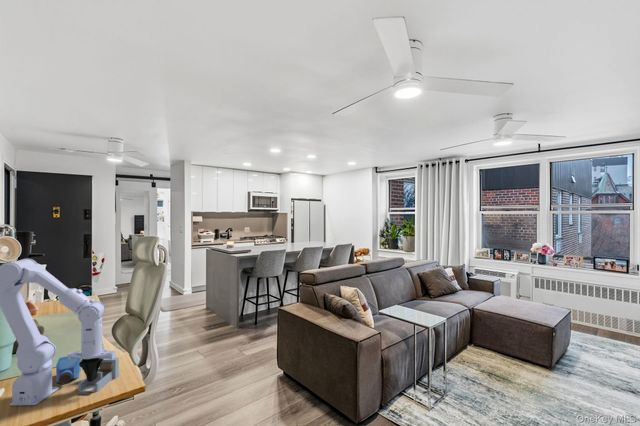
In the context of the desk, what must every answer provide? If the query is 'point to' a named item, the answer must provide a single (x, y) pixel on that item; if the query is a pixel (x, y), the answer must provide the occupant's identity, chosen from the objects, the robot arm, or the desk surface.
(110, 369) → the walnut block
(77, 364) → the perfume bottle
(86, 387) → the arch track
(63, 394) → the desk surface
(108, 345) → the desk surface
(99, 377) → the sled
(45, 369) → the robot arm
